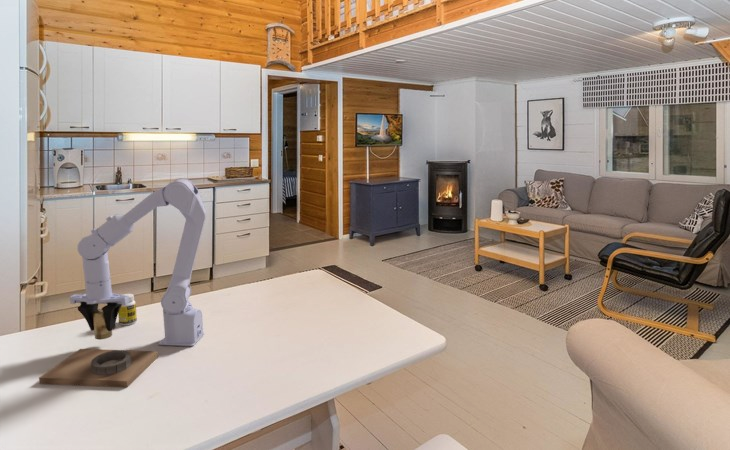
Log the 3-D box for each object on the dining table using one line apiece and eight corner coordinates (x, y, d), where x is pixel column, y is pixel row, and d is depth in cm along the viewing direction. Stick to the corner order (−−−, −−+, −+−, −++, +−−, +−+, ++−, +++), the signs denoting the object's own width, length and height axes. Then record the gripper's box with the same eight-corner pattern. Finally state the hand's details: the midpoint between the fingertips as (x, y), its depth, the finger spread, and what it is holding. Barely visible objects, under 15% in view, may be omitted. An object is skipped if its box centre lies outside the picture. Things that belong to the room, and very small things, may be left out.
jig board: (158, 356, 113) (157, 344, 112) (127, 387, 99) (126, 372, 99) (80, 354, 114) (79, 341, 113) (39, 383, 100) (37, 369, 99)
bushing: (115, 333, 120) (113, 308, 119) (106, 339, 116) (103, 314, 115) (100, 332, 120) (98, 308, 119) (91, 339, 116) (88, 313, 115)
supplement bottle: (129, 326, 131) (127, 299, 129) (115, 325, 131) (112, 297, 130) (140, 320, 135) (138, 293, 134) (126, 318, 136) (124, 292, 134)
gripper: (59, 284, 111) (65, 335, 114) (116, 285, 111) (121, 336, 113) (78, 275, 118) (83, 323, 121) (131, 277, 118) (136, 325, 120)
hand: (102, 329), depth 118 cm, fingers closed on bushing, 4 cm apart
